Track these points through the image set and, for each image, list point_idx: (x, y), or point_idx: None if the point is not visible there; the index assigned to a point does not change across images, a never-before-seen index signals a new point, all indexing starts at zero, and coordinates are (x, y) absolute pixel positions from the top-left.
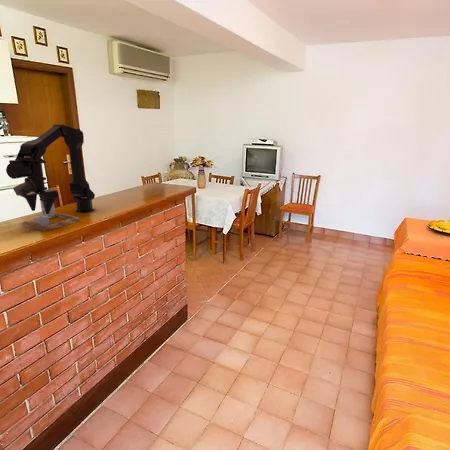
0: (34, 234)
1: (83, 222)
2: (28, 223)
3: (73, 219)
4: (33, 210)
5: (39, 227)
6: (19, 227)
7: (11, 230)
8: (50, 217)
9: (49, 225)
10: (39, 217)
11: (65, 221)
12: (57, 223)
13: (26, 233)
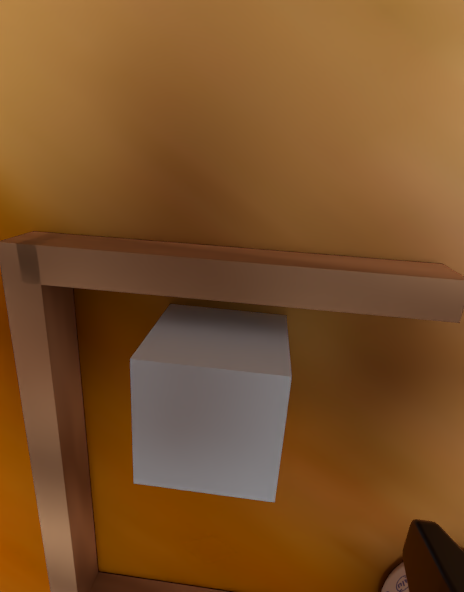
0: (11, 100)
1: (22, 573)
2: (324, 270)
3: (52, 576)
4: (410, 536)
5: (78, 245)
6: (444, 199)
7: (435, 40)
8: (392, 578)
9: (11, 334)
10: (231, 423)
11: (38, 506)
12: (27, 427)
13: (126, 69)
